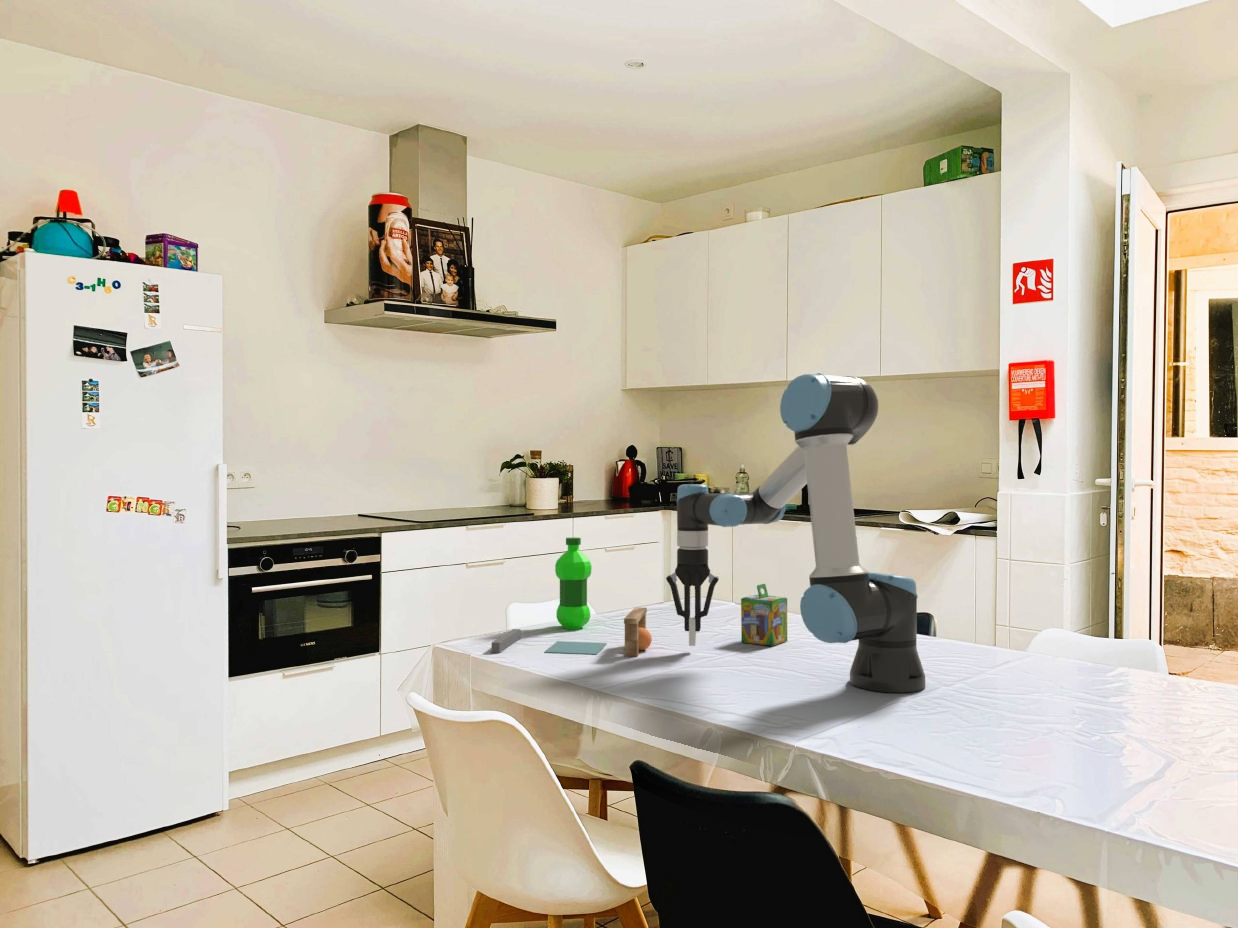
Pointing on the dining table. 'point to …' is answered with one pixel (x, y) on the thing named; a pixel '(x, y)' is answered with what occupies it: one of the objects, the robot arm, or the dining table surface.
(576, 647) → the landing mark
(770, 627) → the chalk box
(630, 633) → the bridge
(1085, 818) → the dining table surface
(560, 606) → the plastic bottle
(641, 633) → the ball
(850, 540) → the robot arm
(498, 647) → the grey long bar
